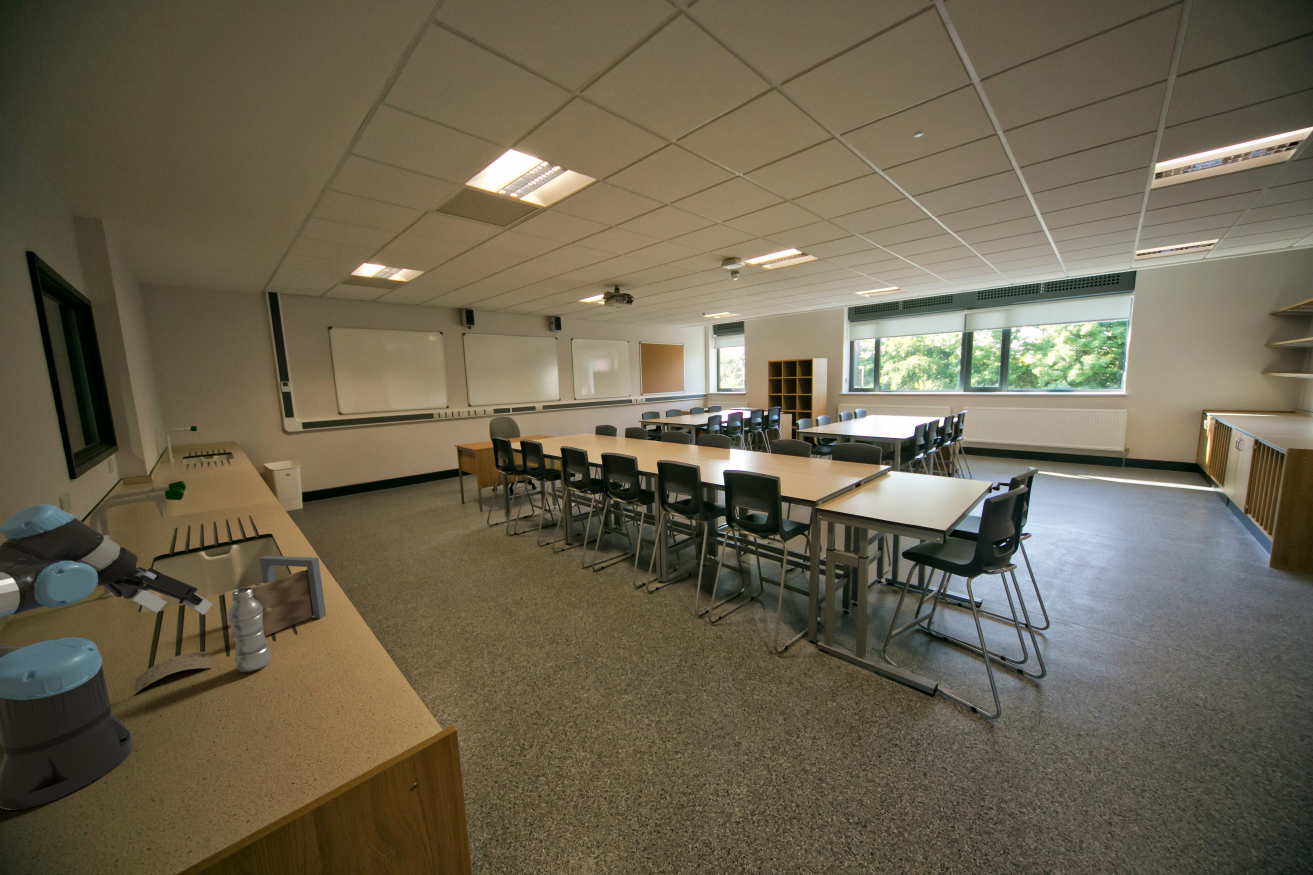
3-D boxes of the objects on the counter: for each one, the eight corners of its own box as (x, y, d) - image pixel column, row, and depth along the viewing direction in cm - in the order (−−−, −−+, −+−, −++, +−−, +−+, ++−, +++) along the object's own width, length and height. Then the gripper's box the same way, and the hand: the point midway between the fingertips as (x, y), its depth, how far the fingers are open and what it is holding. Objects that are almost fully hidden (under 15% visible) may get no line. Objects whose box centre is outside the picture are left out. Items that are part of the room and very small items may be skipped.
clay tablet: (130, 700, 101) (127, 689, 101) (130, 681, 108) (128, 670, 107) (219, 668, 112) (217, 658, 111) (214, 652, 118) (213, 643, 118)
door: (313, 613, 135) (307, 568, 133) (318, 615, 133) (312, 570, 132) (259, 635, 123) (251, 587, 122) (263, 638, 122) (256, 589, 120)
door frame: (320, 618, 133) (312, 560, 130) (268, 615, 136) (259, 558, 133) (326, 615, 135) (318, 557, 132) (274, 611, 138) (266, 555, 135)
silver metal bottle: (256, 675, 107) (243, 596, 105) (228, 676, 107) (215, 597, 105) (279, 659, 114) (267, 583, 111) (252, 659, 114) (240, 584, 111)
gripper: (165, 545, 96) (239, 595, 111) (72, 544, 100) (155, 592, 114) (132, 577, 91) (214, 625, 105) (35, 575, 95) (127, 621, 109)
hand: (184, 608), depth 110 cm, fingers open, 13 cm apart
